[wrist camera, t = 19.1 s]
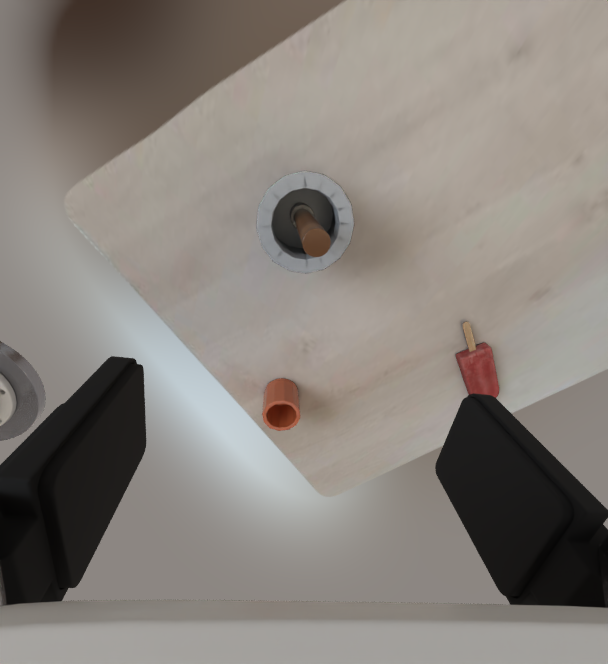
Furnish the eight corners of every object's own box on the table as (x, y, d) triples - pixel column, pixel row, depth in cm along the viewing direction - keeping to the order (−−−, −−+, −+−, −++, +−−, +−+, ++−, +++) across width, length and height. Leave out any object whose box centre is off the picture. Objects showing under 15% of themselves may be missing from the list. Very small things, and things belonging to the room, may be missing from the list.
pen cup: (257, 389, 49) (255, 413, 44) (284, 372, 48) (285, 394, 43) (278, 411, 51) (277, 436, 46) (304, 394, 50) (307, 418, 45)
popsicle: (484, 318, 45) (503, 398, 51) (477, 313, 46) (497, 391, 52) (452, 331, 45) (475, 409, 51) (446, 326, 47) (469, 402, 53)
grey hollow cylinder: (248, 205, 39) (236, 213, 29) (308, 157, 37) (318, 148, 27) (291, 264, 42) (294, 290, 32) (349, 222, 40) (371, 236, 30)
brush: (285, 211, 39) (287, 238, 21) (303, 197, 38) (322, 212, 20) (298, 230, 40) (311, 271, 22) (316, 217, 39) (345, 247, 21)
